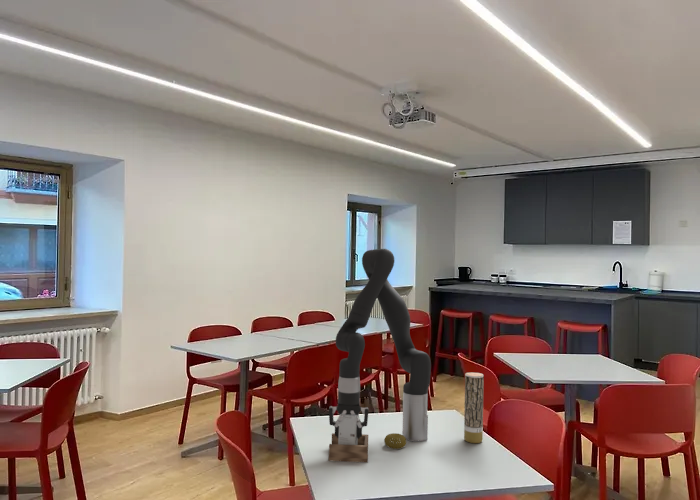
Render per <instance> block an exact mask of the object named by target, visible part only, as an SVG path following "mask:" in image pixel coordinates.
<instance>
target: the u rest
mask: <svg viewBox="0 0 700 500" xmlns="http://www.w3.org/2000/svg"><path fill="white" fill-rule="evenodd" d="M368 459H369V434H363V433H362V436H361V437H360V439H358V445H342V444H338V438H337V436H335V432H334V433H333V432H332V433H331V443H329V446H328V461H329V462H349V463H350V462H351V463H368V462H369V461H368Z"/></svg>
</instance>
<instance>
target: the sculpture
mask: <svg viewBox="0 0 700 500" xmlns="http://www.w3.org/2000/svg"><path fill="white" fill-rule="evenodd" d="M383 441H384V445H386V447H387V448H389V449H393V450H399V449H403V448H405V446H406V444H407V440H406V438H405V437H404V436H403V435H402V434H401V433H394V432H393V433H388V434H386V436H385V437H384V440H383Z"/></svg>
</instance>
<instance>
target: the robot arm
mask: <svg viewBox="0 0 700 500" xmlns="http://www.w3.org/2000/svg"><path fill="white" fill-rule="evenodd" d="M361 264H362V267H363V271H364V273H365V274H366V276H367V279H368V281H367V282H366V284H365V286H364V287H363V288H362V290H361V291H360V292H359V294H358V295H357V296H356V298H355V299H354V301H353V304H352V307H351V309H350V311H349V314H348V317H347V319H346V320H345V321H344V323H343V324H342V325H341V327H340V328H339V330H338V332H337V334H336V337H335V346H336V348H337V349H338V350H339V351H341V352H346V353H348V355H347V357H346V358H342V359H340V362H339V369H338V370H339V374H338V375H339V377H338V386H337V392H338V393H337V405H336V406H332V405H329V408H328V417H329V420H328V421H329V425H330V426H332V427H334V433H335V436H337V438H338V437H339V422H341V421H342V419H343V417H344V416H345V414H350V415H358V414H359V415H360V412H361V413H362V415H364V417H363V421H361V419H360V416H359V417H358V418H357V416H356V423H357V425H358V439H360V437H361V436H362V434H363V428H364V427H367V426H368V420H369V409H370V408H369V407H368V406H365V407H362V406H361V400H360V399H361V380H360V376H361V375H360V365H361V361H362V358H363V355H364V352H365V351H364V350H365V346H366V343H365V338H364V336H363V334H362V333H360V332H357V331H358V330H360V329H363V328H366V327H367V324H368V321H369V319H370V317H371V313H372V311H373V308H374V306H375V303H376V302H377V301H378V304H379V305H380V308H381V312H382V314H383V317H384V320H385V322H386V324H387V327H388V329H389V332H390V335H391V338H392V340H393V343H394V347H395V350H396V353H397V357H398V358H397V359H398V361H399V365H400V367H401V368H402V369H403V371H405V372H406V373H408V374H409V381H408V382H405V383H404V384H403V388H402V391H403V393H402V434H401V435H403V436H404V437H405V438H406V441H410V442H424V441H428V434H429V433H428V425H429V415H428V391H429V387H430V385H431V375H432V374H431V372H432V371H431V370H432V362H431V357H430V356H429V354H428V353H427V352H424V351H422V350H418V349H417V348H415V345H414V343H413V341H412V338H411V334H410V330H411V316H410V312H409V309H408V306H407V305H406V302H405V300H404V298H403V297H402V296H401V295H400V294H399V292H398V291H397V290H396V289H395V287H393V286H392V285H391V282H390V281H389V280H388V278H389V277H390V274H391V272H392V270H393V268H394V266H395V256H394V254H393V252H392V251H391V250H390V249H389V248H376V249H369V250H366V251H364V253H363V255H362V258H361ZM336 411H337V413H338V414H339V415H340V414H341V415H340V417H339V416H338V417H337V419H336V420H334V414H335V413H336Z"/></svg>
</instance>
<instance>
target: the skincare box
mask: <svg viewBox="0 0 700 500" xmlns="http://www.w3.org/2000/svg"><path fill="white" fill-rule="evenodd" d="M340 415H341V414H339V416H338V417H340ZM356 416H357V418H358V417H359V418H360V413H359V414H358V415H350V414H345V416H344V417H343V419H342V421H341V422H339V437H338V444H342V445H358V425H357V423H356Z"/></svg>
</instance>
